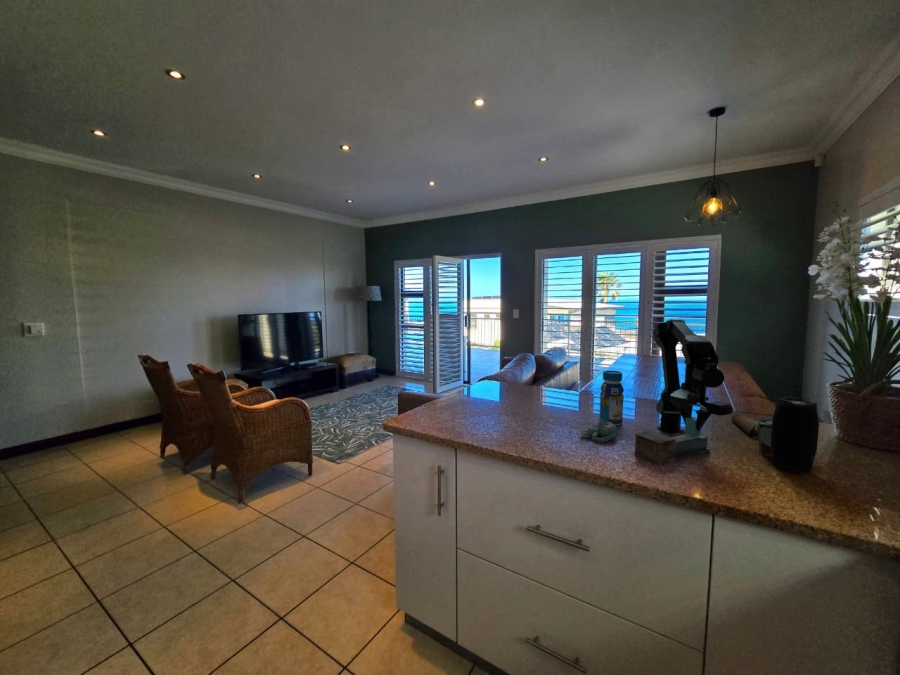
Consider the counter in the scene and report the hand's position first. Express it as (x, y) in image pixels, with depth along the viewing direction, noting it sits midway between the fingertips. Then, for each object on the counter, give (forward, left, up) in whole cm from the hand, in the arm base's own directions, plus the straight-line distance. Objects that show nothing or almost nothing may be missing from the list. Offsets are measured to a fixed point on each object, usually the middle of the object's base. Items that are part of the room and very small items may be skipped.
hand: (692, 428), depth 114 cm
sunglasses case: (-36, -2, -7) cm, 37 cm away
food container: (-20, +12, -7) cm, 25 cm away
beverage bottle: (+4, -29, -7) cm, 30 cm away
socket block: (+17, 0, -6) cm, 18 cm away
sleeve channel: (+6, 0, -6) cm, 9 cm away
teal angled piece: (+5, 0, -5) cm, 7 cm away
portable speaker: (-11, +20, -7) cm, 24 cm away
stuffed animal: (+20, -19, -7) cm, 28 cm away
